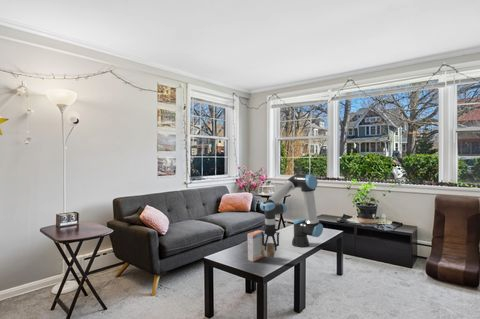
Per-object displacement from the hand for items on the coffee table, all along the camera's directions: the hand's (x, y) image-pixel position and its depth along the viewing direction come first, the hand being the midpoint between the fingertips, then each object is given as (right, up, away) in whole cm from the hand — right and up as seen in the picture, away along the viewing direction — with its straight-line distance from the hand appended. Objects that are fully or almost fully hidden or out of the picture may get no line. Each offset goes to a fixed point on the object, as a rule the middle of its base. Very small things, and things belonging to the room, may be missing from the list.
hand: (270, 254), depth 219 cm
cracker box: (-11, -6, +9) cm, 15 cm away
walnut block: (0, -1, 0) cm, 1 cm away
